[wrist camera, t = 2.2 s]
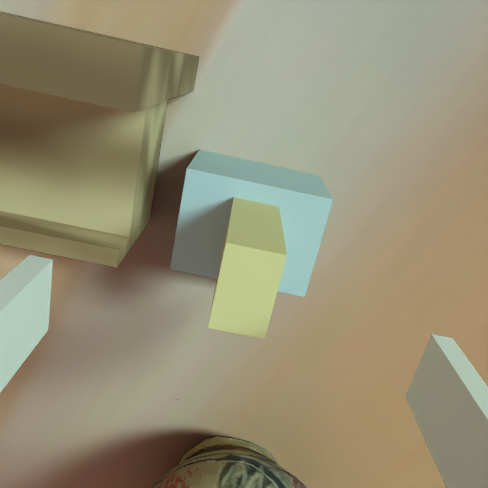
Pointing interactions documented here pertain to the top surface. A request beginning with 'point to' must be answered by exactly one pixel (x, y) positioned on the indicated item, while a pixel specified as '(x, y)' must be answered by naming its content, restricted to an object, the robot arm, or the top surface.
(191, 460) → the ceramic jug
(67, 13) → the top surface
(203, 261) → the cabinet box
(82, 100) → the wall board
